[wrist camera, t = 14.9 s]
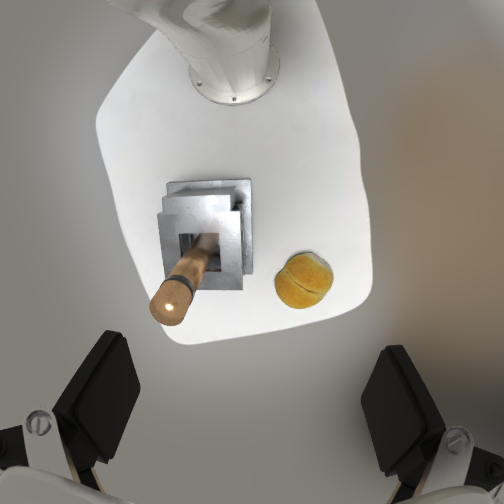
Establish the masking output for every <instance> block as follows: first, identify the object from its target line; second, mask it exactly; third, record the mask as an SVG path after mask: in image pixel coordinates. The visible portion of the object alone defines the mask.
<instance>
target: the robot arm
mask: <svg viewBox="0 0 504 504" xmlns="http://www.w3.org/2000/svg"><path fill="white" fill-rule="evenodd" d="M105 1H107V2H108V3H110V4H112V5H113V6H114V7H115V8H117V9H119V10H120V11H122V12H124V13H126V14H128V15H130V16H132V17H135V18H137V19H139V20H141V21H144V22H146V23H149V24H150V25H152V26H154V27H156V28H157V29H158V30H159V31H161V32H162V33H163V34H164V35H165V36H166V37H167V38H168V39H169V40H170V42H171V43H172V44H173V45H174V46H175V47H176V49H177V50H178V51H179V52H180V53H181V54H182V55H183V57H184V58H185V59H186V60H187V61H188V62H189V75H190V78H191V81H192V83H193V85H194V87H195V88H196V89H197V91H198V92H199V93H200V94H202V95H203V96H204V97H205V98H207V99H209V100H211V101H213V102H216V103H219V104H224V105H240V104H246V103H249V102H252V101H254V100H256V99H258V98H260V97H261V96H263V95H264V94H265V93H266V92H268V90H269V89H270V88H271V87H272V86H273V84H274V82H275V81H276V79H277V76H278V72H279V57H278V53H277V51H276V49H275V47H274V46H273V44H272V43H271V42H270V28H271V13H272V9H271V2H270V0H105ZM267 80H270V81H271V82H267ZM199 84H202V85H201V86H199ZM234 98H235V99H236V101H233V99H234ZM139 393H140V383H139V380H138V377H137V374H136V370H135V368H134V364H133V361H132V357H131V354H130V351H129V347H128V344H127V340H126V338H125V337H123V336H122V334H121V333H120V332H115V331H109V330H106V331H105V332H104V333H103V334H102V336H101V337H100V338H99V340H98V341H97V343H96V344H95V346H94V347H93V348H92V350H91V351H90V353H89V354H88V355H87V357H86V358H85V360H84V361H83V363H82V364H81V366H80V367H79V369H78V370H77V372H76V373H75V375H74V376H73V378H72V379H71V381H70V382H69V384H68V385H67V387H66V389H65V390H64V392H63V393H62V395H61V396H60V398H59V399H58V401H57V403H56V404H55V406H54V408H53V409H52V411H51V410H49V409H48V408H45V407H35V408H32V409H31V410H29V411H28V412H27V413H26V414H25V416H24V418H23V424H22V425H19V426H15V427H12V428H8V429H4V430H0V504H135V503H132V502H128V501H125V500H122V499H119V498H116V497H113V496H110V495H108V494H106V493H105V491H104V489H103V487H102V485H101V482H100V480H99V478H98V476H97V473H96V471H95V469H94V465H95V462H96V460H97V461H100V462H102V463H105V464H108V461H109V459H112V458H113V457H114V455H115V452H116V450H117V448H118V445H119V442H120V440H121V437H122V434H123V432H124V429H125V427H126V424H127V422H128V420H129V417H130V414H131V412H132V410H133V407H134V405H135V402H136V400H137V398H138V395H139ZM361 405H362V408H363V411H364V414H365V418H366V421H367V424H368V428H369V431H370V434H371V438H372V441H373V445H374V449H375V452H376V456H377V459H378V463H379V467H380V470H381V471H382V472H385V476H386V477H389V476H393V475H396V474H397V475H398V478H399V482H398V483H397V485H396V487H395V489H394V491H393V493H392V494H391V496H390V498H389V500H388V501H387V503H386V504H504V459H503V458H502V457H501V456H499V455H496V454H493V453H490V452H488V451H485V450H482V449H480V448H477V447H475V446H474V441H473V437H472V435H471V434H470V432H469V431H468V430H467V429H465V428H463V427H459V426H455V427H451V428H449V429H446V427H445V423H444V421H443V419H442V417H441V415H440V413H439V411H438V409H437V407H436V405H435V403H434V401H433V399H432V397H431V395H430V393H429V391H428V390H427V388H426V386H425V384H424V382H423V380H422V379H421V377H420V375H419V373H418V371H417V370H416V368H415V366H414V364H413V362H412V361H411V359H410V357H409V356H408V354H407V352H406V350H405V349H404V347H403V346H402V345H391V346H387V347H386V348H385V349H384V350H382V351H381V353H380V355H379V358H378V360H377V363H376V365H375V367H374V370H373V372H372V374H371V376H370V379H369V381H368V383H367V385H366V387H365V389H364V391H363V393H362V396H361Z"/></svg>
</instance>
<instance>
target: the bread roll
mask: <svg viewBox="0 0 504 504" xmlns="http://www.w3.org/2000/svg"><path fill="white" fill-rule="evenodd" d="M333 278H334V277H333V272H332V270H331V268H330V266H329V265H328V264H327V263H326V262H325V261H324V260H322V259H321V258H319V257H318V256H316V255H315V254H313V253H305V254H300V255H297V256H295V257H293V258H292V259H291V260H289V261H288V263H287V264H286V266H285V267H284V269H283V270H282V271H281V272H280V273H279V274H278V275H277V277H276V279H275V289H276V292H277V295H278V296H279V298H280V299H281V300H282V302H284V303H285V304H286V305H287V306H289V307H292V308H295V309H304V308H308V307H311V306H313V305H315V304H317V303H318V302H320V301H321V300H322V299H323V297H324V296H325V295H326V293H327V292H328V291H329V290H330V288H331V286H332V283H333Z"/></svg>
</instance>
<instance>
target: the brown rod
mask: <svg viewBox="0 0 504 504" xmlns="http://www.w3.org/2000/svg"><path fill="white" fill-rule="evenodd" d="M219 241H220V239H219V233H199V235H198V236H197V237H196V239H195V240H194V241H193V243H192V244H191V245H190V247H189V248H188V249H187V251H186V252H185V253H184V255H183V256H182V258H181V259H180V260H179V262H178V263H177V264H176V266H175V267H174V269H173V270H172V271H171V273H170V274H169V275H168V277H167V278H166V279H165V280H164V282H163V283H162V284H161V286H160V288H159V290H158V291H157V292H156V294H155V295H154V297H153V298H152V300H151V301H150V311H151V314H152V316H153V317H154V318H155V319H156V320H157V321H158V322H160V323H161V324H164V325H167V326H175V325H178V324H180V323H181V322H182V321H183V319H184V317H185V315H186V312H187V310H188V308H189V306H190V304H191V302H192V300H193V298H194V295H195V292H196V290H197V288H198V286H199V283H200V281H201V279H202V277H203V275H204V273H205V270H206V268H207V266H208V264H209V262H210V260H211V258H212V255H213V253H214V251H215V249H216V247H217V245H218V243H219Z"/></svg>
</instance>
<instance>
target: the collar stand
mask: <svg viewBox="0 0 504 504" xmlns="http://www.w3.org/2000/svg"><path fill="white" fill-rule="evenodd" d="M162 205H163V212H160V213H158V214H157V217H158V226H159V235H160V243H161V251H162V259H163V266H164V272H165V279H166V278H167V277H168V275H169V274H170V273H171V271H172V270H173V269H174V267H175V266H176V264H177V263H178V262H179V260H180V259H181V258H182V256H183V255H184V253H185V252H186V251H187V249H188V248H189V247H190V245H191V244H192V243H193V241H194V240H195V239H196V237H197V236H198V235H199V233H219V239H220V241H219V243H218V245H217V247H216V249H215V251H214V253H213V255H212V258H211V260H210V262H209V264H208V266H207V268H206V270H205V273H204V275H203V277H202V279H201V281H200V283H199V286H198V288H197V290H243V275H245V274H253V263H252V215H251V179H235V180H209V181H190V182H175V183H167V196H165V197H163V198H162Z"/></svg>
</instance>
